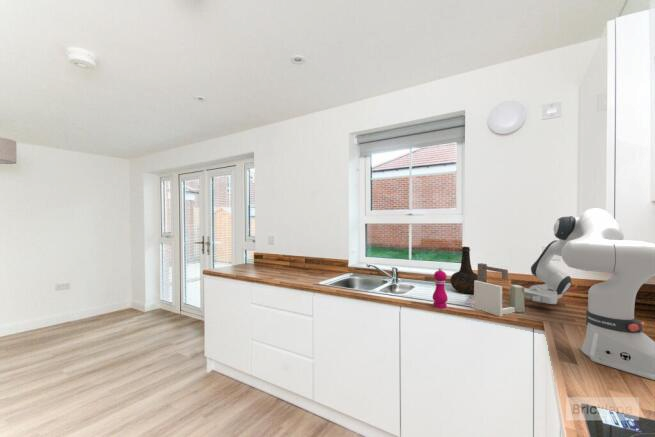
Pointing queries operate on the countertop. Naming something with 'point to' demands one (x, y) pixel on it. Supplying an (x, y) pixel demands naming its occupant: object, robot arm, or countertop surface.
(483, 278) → the grey brown arch frame
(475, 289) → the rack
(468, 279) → the glass bottle
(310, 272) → the countertop surface
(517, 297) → the skincare box
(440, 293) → the pepper mill
